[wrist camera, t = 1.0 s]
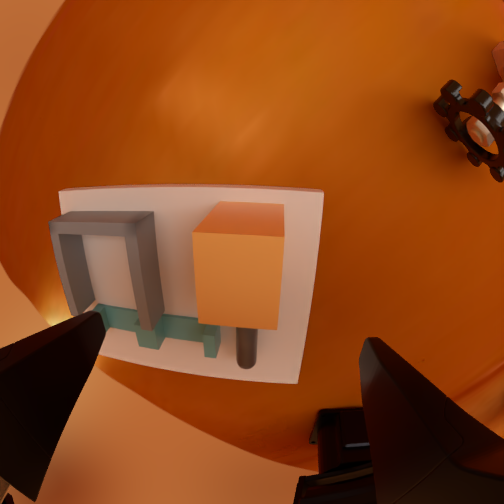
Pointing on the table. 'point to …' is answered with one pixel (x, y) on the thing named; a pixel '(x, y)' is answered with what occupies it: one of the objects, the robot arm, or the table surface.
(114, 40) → the table surface
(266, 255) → the block
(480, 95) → the valve
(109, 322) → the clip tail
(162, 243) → the board
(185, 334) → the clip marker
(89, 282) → the end holder
